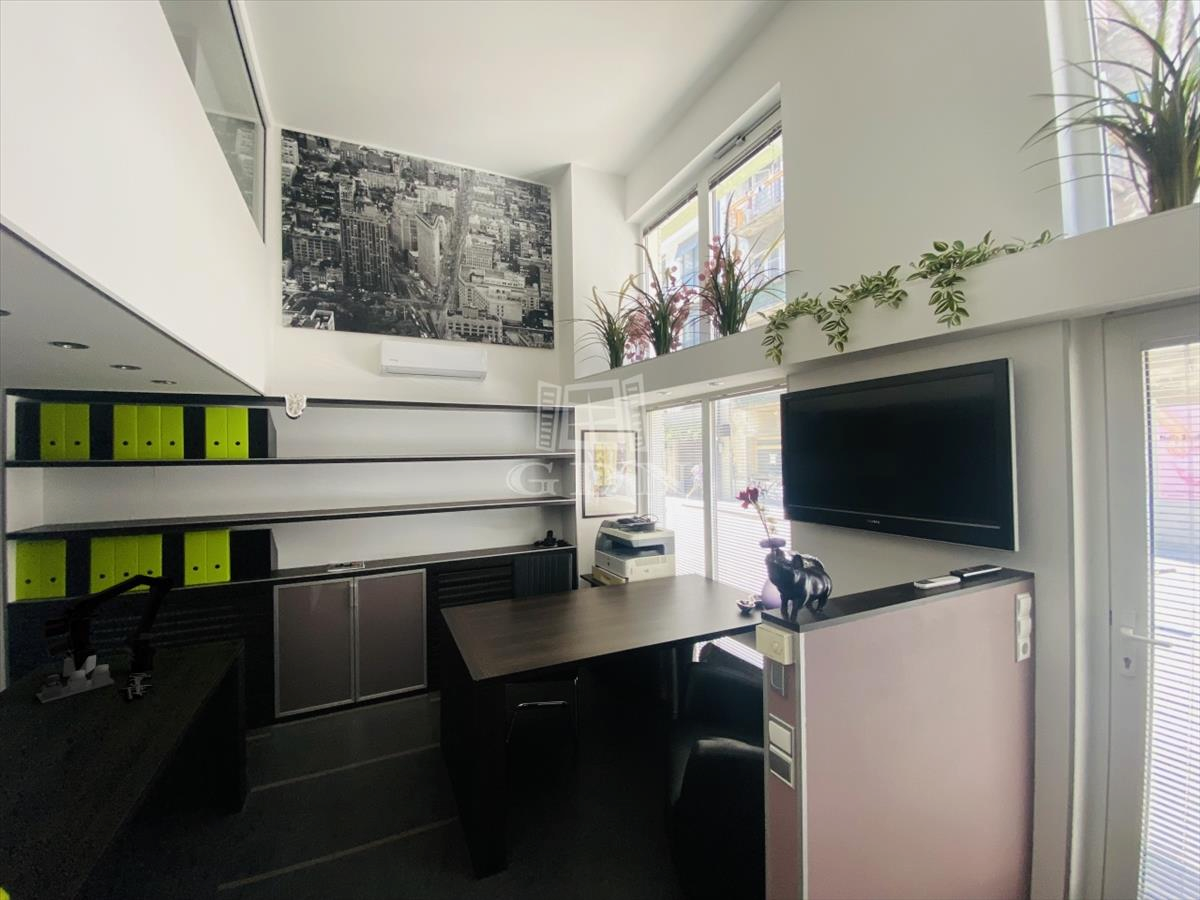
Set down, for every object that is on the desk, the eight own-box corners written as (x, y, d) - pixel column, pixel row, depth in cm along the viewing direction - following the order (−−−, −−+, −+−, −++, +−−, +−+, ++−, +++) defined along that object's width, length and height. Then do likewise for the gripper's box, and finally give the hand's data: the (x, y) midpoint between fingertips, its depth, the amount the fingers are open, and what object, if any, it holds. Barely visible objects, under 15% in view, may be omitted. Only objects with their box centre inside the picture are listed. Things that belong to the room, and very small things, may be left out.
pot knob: (57, 683, 179) (58, 673, 179) (59, 685, 177) (60, 675, 177) (44, 686, 176) (45, 676, 176) (46, 689, 175) (47, 678, 175)
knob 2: (105, 677, 191) (106, 663, 191) (109, 680, 189) (109, 666, 189) (91, 681, 187) (92, 667, 187) (94, 683, 185) (95, 669, 185)
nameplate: (116, 677, 191) (150, 669, 198) (116, 680, 191) (150, 673, 198) (119, 701, 172) (156, 692, 180) (119, 705, 172) (156, 696, 180)
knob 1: (82, 683, 185) (83, 669, 185) (85, 686, 183) (86, 671, 183) (67, 687, 182) (68, 673, 182) (70, 690, 180) (71, 675, 180)
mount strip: (107, 677, 193) (108, 666, 193) (114, 683, 188) (115, 672, 188) (36, 696, 176) (37, 685, 177) (42, 703, 172) (42, 691, 172)
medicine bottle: (72, 670, 198) (74, 641, 198) (95, 667, 201) (97, 639, 201) (62, 677, 191) (64, 648, 192) (86, 674, 194) (87, 645, 195)
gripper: (43, 631, 181) (40, 671, 180) (55, 642, 171) (52, 685, 171) (84, 623, 190) (82, 661, 190) (98, 633, 181) (95, 673, 180)
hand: (77, 670), depth 182 cm, fingers closed
